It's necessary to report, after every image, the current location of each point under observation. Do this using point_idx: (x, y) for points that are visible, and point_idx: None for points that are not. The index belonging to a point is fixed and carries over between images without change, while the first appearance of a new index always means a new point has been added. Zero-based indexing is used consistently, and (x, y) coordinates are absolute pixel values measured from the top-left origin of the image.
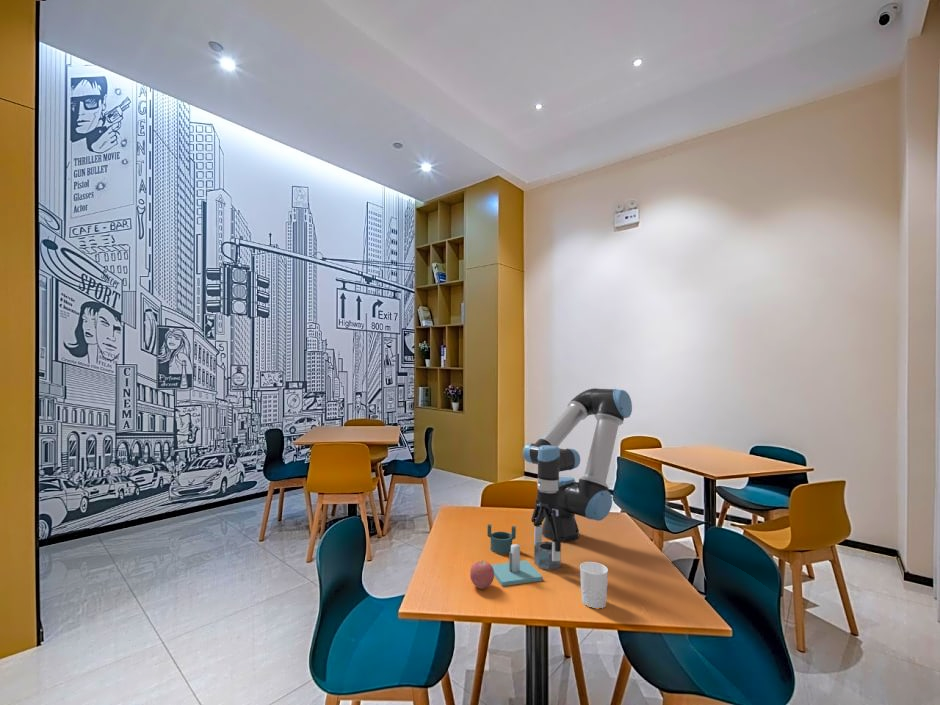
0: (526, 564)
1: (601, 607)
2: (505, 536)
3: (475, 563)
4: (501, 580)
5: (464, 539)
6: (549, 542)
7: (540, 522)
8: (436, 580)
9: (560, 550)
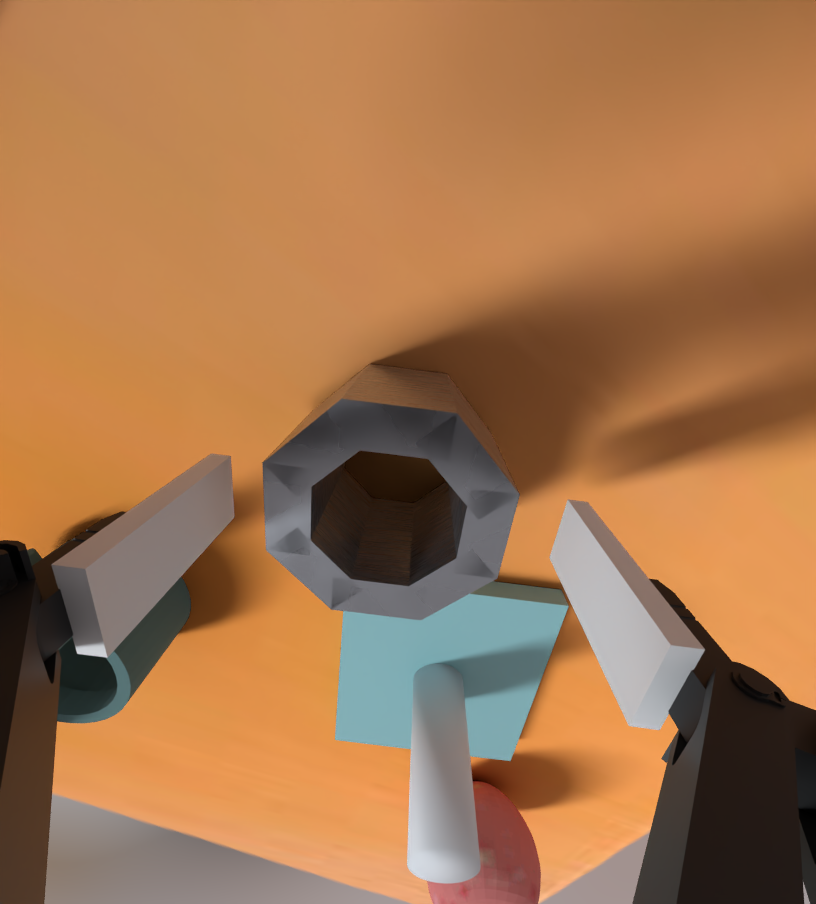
0: None
1: None
2: None
3: None
4: (495, 757)
5: None
6: (297, 448)
7: (37, 663)
8: (364, 857)
9: (669, 590)
